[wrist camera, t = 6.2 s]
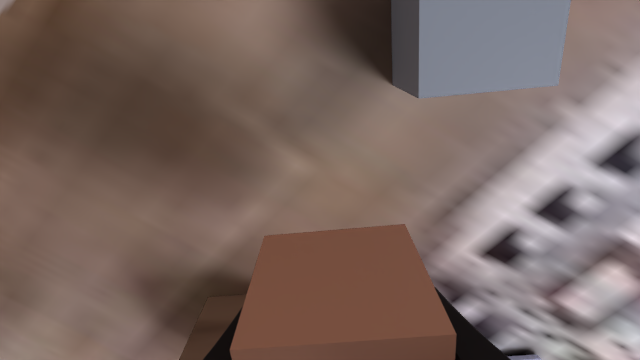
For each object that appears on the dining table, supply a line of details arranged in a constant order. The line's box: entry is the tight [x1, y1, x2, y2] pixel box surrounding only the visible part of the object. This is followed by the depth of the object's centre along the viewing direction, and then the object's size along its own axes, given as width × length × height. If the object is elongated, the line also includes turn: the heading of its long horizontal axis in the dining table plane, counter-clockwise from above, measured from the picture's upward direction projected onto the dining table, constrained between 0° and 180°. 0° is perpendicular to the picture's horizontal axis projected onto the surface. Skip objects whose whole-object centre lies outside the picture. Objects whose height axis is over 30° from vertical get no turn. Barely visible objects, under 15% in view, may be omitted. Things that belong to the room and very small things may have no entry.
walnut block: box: [179, 294, 247, 360], centre depth 20 cm, size 5×5×5 cm
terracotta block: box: [230, 224, 457, 360], centre depth 11 cm, size 5×5×5 cm
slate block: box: [391, 0, 571, 98], centre depth 14 cm, size 5×5×5 cm
